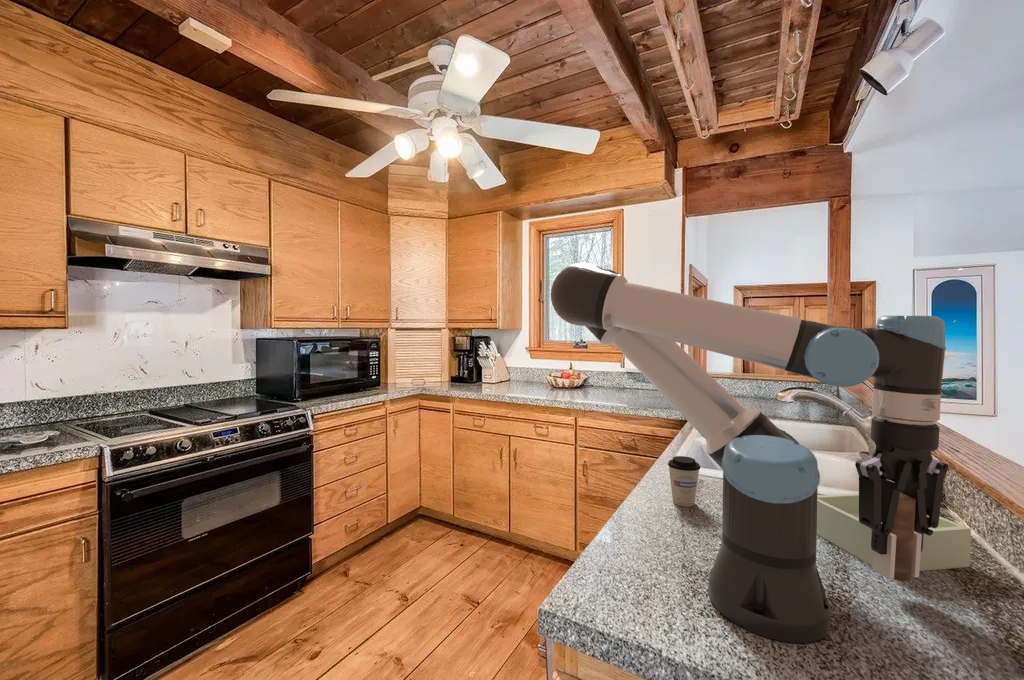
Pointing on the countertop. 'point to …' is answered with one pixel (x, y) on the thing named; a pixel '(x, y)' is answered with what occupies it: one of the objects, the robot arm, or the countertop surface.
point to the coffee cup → (683, 480)
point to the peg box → (849, 534)
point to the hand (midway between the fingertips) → (895, 572)
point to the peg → (904, 536)
